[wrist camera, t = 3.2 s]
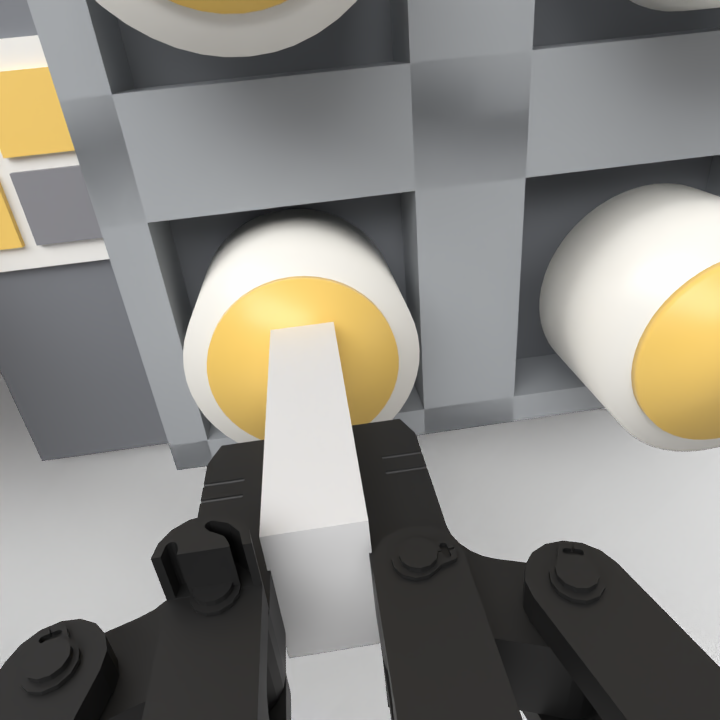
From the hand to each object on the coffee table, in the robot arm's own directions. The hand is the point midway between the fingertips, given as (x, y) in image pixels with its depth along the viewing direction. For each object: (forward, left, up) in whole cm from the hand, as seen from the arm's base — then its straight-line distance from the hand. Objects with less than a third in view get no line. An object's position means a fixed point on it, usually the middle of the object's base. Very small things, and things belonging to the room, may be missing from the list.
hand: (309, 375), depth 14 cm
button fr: (+10, 0, -3) cm, 10 cm away
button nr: (0, 0, -5) cm, 5 cm away
